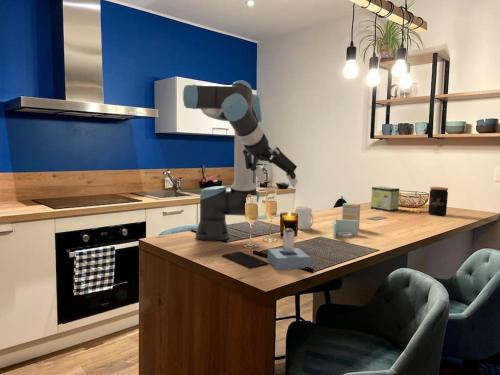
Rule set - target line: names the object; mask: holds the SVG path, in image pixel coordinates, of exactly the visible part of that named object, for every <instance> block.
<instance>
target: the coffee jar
mask: <svg viewBox="0 0 500 375" xmlns="http://www.w3.org/2000/svg"><path fill="white" fill-rule="evenodd" d="M429 189H430V191H429V197H428V198H429V199H428V215H430V216H434V215H435V216H436V217H445V216H446V215H447V208H448V207H447V206H448V198H449V192H448V190H449V188H448V187H443V186H430V187H429ZM435 216H434V217H435Z"/></svg>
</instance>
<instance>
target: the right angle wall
mask: <svg viewBox="0 0 500 375" xmlns="http://www.w3.org/2000/svg"><path fill="white" fill-rule="evenodd" d="M332 219H333V220H332V237H333V239H334V240H335V239H336V238H337V237H338V238H343V239H349V238H352V237H353V235H358V233H359V232H358V230H359V229H358V221H357V220H342V219H338V218H337V219H335V218H332Z"/></svg>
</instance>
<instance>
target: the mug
mask: <svg viewBox="0 0 500 375" xmlns="http://www.w3.org/2000/svg"><path fill="white" fill-rule="evenodd" d="M294 208H295V209H294V214H295V213H298V230H310V229H311V228H312V226H313V224H314V216H313V213H312V211H313V210H312V207H309V206H295V207H294Z"/></svg>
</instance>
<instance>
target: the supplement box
mask: <svg viewBox="0 0 500 375" xmlns="http://www.w3.org/2000/svg"><path fill="white" fill-rule="evenodd" d="M341 214H342V215H341V217H342V218H341V220H357V221H358V230H359V229H360V216H361V204H360V203H352V202H349V203H348V202H344V203H342V212H341Z"/></svg>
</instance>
